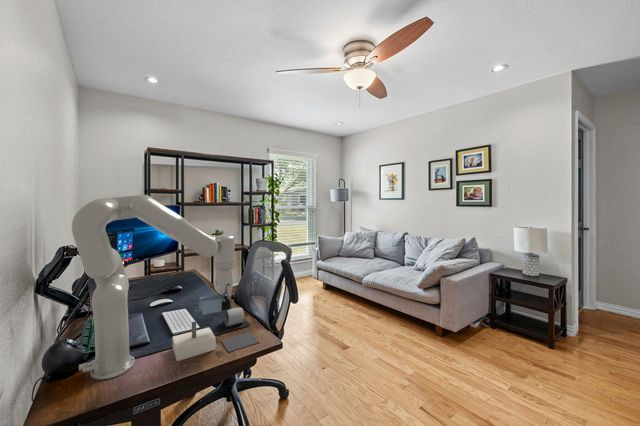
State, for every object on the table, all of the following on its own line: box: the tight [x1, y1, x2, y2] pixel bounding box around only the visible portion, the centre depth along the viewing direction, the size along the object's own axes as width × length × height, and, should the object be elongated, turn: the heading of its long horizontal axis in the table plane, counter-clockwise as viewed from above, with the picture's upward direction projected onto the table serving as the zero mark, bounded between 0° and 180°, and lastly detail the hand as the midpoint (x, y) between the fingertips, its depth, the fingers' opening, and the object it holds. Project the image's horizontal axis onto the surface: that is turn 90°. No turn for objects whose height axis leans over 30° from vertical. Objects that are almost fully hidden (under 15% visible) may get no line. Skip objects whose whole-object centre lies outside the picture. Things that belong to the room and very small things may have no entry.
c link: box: [198, 294, 232, 316], centre depth 115 cm, size 11×6×5 cm, turn 126°
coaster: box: [220, 331, 260, 353], centre depth 117 cm, size 13×10×1 cm
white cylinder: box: [223, 307, 246, 327], centre depth 134 cm, size 11×8×8 cm
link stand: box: [172, 321, 217, 362], centre depth 111 cm, size 14×10×11 cm
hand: (223, 306), depth 117 cm, fingers closed on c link, 6 cm apart
